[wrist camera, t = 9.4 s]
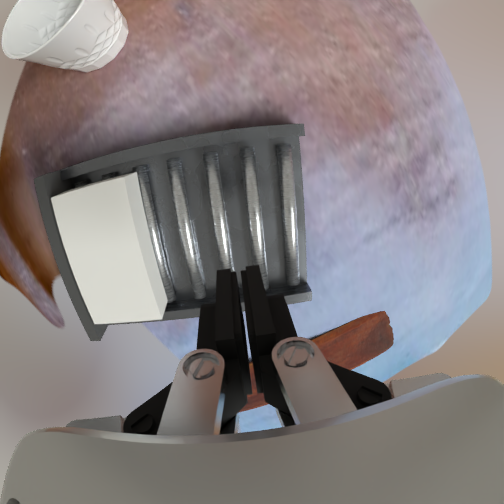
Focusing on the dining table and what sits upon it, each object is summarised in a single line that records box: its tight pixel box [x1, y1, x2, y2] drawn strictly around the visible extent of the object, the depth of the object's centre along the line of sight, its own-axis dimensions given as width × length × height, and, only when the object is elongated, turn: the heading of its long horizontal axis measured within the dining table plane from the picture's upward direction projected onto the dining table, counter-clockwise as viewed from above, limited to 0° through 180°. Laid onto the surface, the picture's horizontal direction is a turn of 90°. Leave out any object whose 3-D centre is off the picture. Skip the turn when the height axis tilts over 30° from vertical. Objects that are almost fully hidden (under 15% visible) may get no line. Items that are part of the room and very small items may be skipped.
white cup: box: [1, 0, 129, 72], centre depth 11 cm, size 8×8×10 cm
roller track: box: [34, 124, 312, 341], centre depth 22 cm, size 16×22×5 cm
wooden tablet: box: [239, 311, 394, 412], centre depth 33 cm, size 27×10×2 cm, turn 112°
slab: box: [51, 172, 168, 324], centre depth 21 cm, size 12×7×3 cm, turn 6°
